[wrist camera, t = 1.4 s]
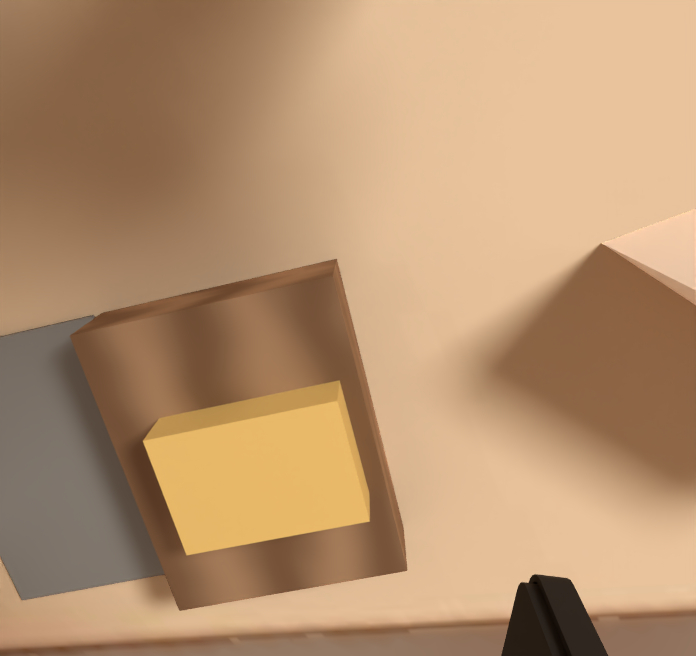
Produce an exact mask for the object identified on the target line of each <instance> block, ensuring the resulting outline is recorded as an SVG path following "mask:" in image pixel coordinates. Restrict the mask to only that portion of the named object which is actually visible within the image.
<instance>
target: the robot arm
mask: <svg viewBox="0 0 696 656" xmlns="http://www.w3.org/2000/svg"><path fill="white" fill-rule="evenodd" d="M502 656H608V654H607V653H606V650H605V648H604V646H603V644H602V642H601V640H600V638H599V636H598V634H597V632H596V630H595V628H594V626H593V624H592V622H591V620H590V617H589V615H588V613H587V611H586V609H585V607H584V605H583V603H582V601H581V599H580V597H579V595H578V593H577V591H576V589H575V587H574V585H573V583H572V582H571V580H569V579H568V578H561V577H553V576H545V575H536V574H535V575H532V577H531V578H530V580H529V583H524V582H522V583H520V584H519V586H518V589H517V593H516V597H515V601H514V606H513V610H512V614H511V618H510V622H509V626H508V630H507V635H506V639H505V643H504V647H503V651H502Z"/></svg>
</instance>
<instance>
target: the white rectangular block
mask: <svg viewBox="0 0 696 656" xmlns="http://www.w3.org/2000/svg"><path fill="white" fill-rule="evenodd" d="M602 244H603V245H605V246H606V247H608V248H609V249H611V250H612V251H614V252H615V253H617V254H619V255H620V256H622V257H623V258H625V259H626V260H628V261H629V262H631V263H632V264H634V265H635V266H637V267H638V268H640V269H641V270H643V271H644V272H646V273H647V274H649V275H650V276H652V277H653V278H655V279H656V280H658V281H660V282H661V283H663V284H664V285H666V286H667V287H669V288H670V289H672V290H673V291H675V292H676V293H678V294H679V295H681V296H682V297H684V298H685V299H687V300H688V301H690V302H691V303H693V304H694V305H696V209H693V210H690V211H687V212H685V213H682V214H679V215H677V216H674V217H671V218H668V219H666V220H663V221H660V222H657V223H655V224H652V225H649V226H647V227H644V228H641V229H638V230H636V231H633V232H630V233H627V234H625V235H622V236H619V237H616V238H614V239H611V240H608V241H606V242H603V243H602Z"/></svg>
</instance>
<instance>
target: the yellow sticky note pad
mask: <svg viewBox="0 0 696 656" xmlns="http://www.w3.org/2000/svg"><path fill="white" fill-rule="evenodd" d="M143 443H144V446H145V448H146V451H147V453H148V456H149V459H150V461H151V464H152V466H153V469H154V472H155V474H156V477H157V480H158V482H159V485H160V487H161V490H162V493H163V495H164V498H165V500H166V503H167V506H168V508H169V511H170V513H171V516H172V519H173V521H174V524H175V527H176V529H177V532H178V534H179V537H180V540H181V542H182V545H183V547H184V550H185V553H186V555H192V554H197V553H202V552H208V551H213V550H219V549H224V548H229V547H235V546H240V545H246V544H251V543H256V542H262V541H267V540H273V539H278V538H283V537H289V536H294V535H300V534H305V533H310V532H316V531H321V530H327V529H332V528H337V527H343V526H348V525H354V524H359V523H364V522H370V497H369V490H368V486H367V483H366V479H365V475H364V471H363V467H362V464H361V460H360V456H359V452H358V448H357V445H356V441H355V437H354V433H353V429H352V426H351V422H350V418H349V414H348V410H347V407H346V403H345V399H344V395H343V391H342V388H341V384H340V380H339V381H334V382H330V383H325V384H320V385H315V386H310V387H306V388H301V389H296V390H291V391H287V392H282V393H277V394H272V395H268V396H263V397H258V398H253V399H249V400H244V401H239V402H234V403H230V404H225V405H220V406H215V407H210V408H206V409H201V410H196V411H191V412H187V413H182V414H177V415H172V416H168V417H163V418H159V419H158V420H157V422H156V423H155V425H154V426H153V427H152V429H151V430H150V432H149V433H148V434H147V436H146V437H145V439H144V440H143Z"/></svg>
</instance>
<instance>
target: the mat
mask: <svg viewBox="0 0 696 656" xmlns="http://www.w3.org/2000/svg"><path fill="white" fill-rule="evenodd" d="M93 319H94V315H92V316H87V317H83V318H79V319H74V320H70V321H66V322H61V323H57V324H53V325H48V326H44V327H40V328H35V329H31V330H27V331H22V332H18V333H14V334H9V335H5V336H1V337H0V557H1V559H2V561H3V563H4V565H5V567H6V569H7V571H8V573H9V575H10V577H11V579H12V581H13V583H14V585H15V587H16V589H17V591H18V593H19V595H20V597H21V599H22V600H27V599H32V598H38V597H43V596H49V595H54V594H60V593H65V592H71V591H76V590H82V589H87V588H93V587H98V586H103V585H109V584H114V583H120V582H125V581H131V580H136V579H142V578H147V577H153V576H158V575H164V574H165V573H164V571H163V568H162V566H161V563H160V561H159V558H158V556H157V553H156V551H155V548H154V546H153V543H152V541H151V538H150V536H149V533H148V531H147V528H146V526H145V523H144V521H143V518H142V516H141V513H140V511H139V508H138V506H137V503H136V501H135V498H134V496H133V493H132V491H131V488H130V486H129V483H128V481H127V478H126V476H125V473H124V471H123V468H122V466H121V463H120V461H119V458H118V456H117V453H116V451H115V448H114V446H113V443H112V441H111V438H110V436H109V433H108V431H107V428H106V426H105V423H104V421H103V418H102V416H101V413H100V411H99V408H98V406H97V403H96V401H95V398H94V396H93V393H92V391H91V388H90V386H89V383H88V381H87V378H86V376H85V373H84V371H83V368H82V366H81V363H80V361H79V358H78V356H77V353H76V351H75V348H74V346H73V343H72V341H71V338H70V335H71V334H73V333H74V332H76V331H77V330H78V329H80V328H81V327H83V326H84V325H86V324H87V323H88V322H90V321H91V320H93Z"/></svg>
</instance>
